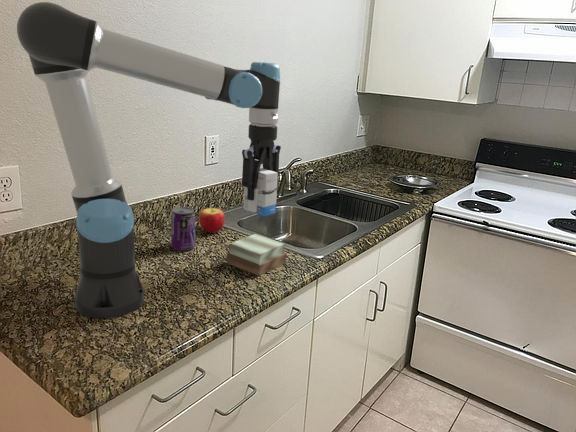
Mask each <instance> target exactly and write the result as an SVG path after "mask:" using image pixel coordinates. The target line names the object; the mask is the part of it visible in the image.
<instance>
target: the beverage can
mask: <svg viewBox="0 0 576 432" xmlns="http://www.w3.org/2000/svg"><path fill="white" fill-rule="evenodd" d="M194 211H195V210H194V208H192V207H189V206H178V207H174V208H173V209H172V213H171V215H170V240H171V241H170V243H171V244H170V245H171V246H170V247H171V248H172V249H175V250H177V251H179V252H180V251H181V252H182V251H183V252H184V251H189V250H192V249H194V248H195V246H196V214H195V212H194Z"/></svg>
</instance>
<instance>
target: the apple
mask: <svg viewBox="0 0 576 432" xmlns="http://www.w3.org/2000/svg"><path fill="white" fill-rule="evenodd" d="M225 218H226V217H225V213H224V212H223V210H222V209H220V208H216V207H215V208H214V207H213V205H212V201H211V200H210V207H208V208H203V209H202V210H201V211H200V212H199V215H198V221H199V224H200V226H201V228H202V230H203V231H205V232H206V233H210V234H214V233H217V232H219V231H221V229H223V227H224V224H225Z"/></svg>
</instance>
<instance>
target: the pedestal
mask: <svg viewBox="0 0 576 432" xmlns="http://www.w3.org/2000/svg"><path fill="white" fill-rule="evenodd" d="M286 261H287V253H286V252H285V243H284V242H281V241H277V240H274V239H271V238H268V237H266V236H263V235H260V234H257V233H254V234H251V235H249V236H246V237H244V238H240V239H237V240H235V241H232V242H230V243H229V252H227V253H226V264H228V265H231V266H233V267H236V268H239V269H240V270H243V271H245V272H248V273H250V274H253V275H256V276H258V277H259V276H260V277H261V276H262V275H265V274H266V273H268V272H270V271H272V270H274V269H277V268H278V267H280V266H282V265H284V263H285V264H286Z"/></svg>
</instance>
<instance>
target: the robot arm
mask: <svg viewBox="0 0 576 432" xmlns="http://www.w3.org/2000/svg"><path fill="white" fill-rule="evenodd" d="M16 33H17V38H18V40H19V43H20V45H21V47H23V50H24V51H26V53H27V55H28V56H29V57H28V58H29V61H30V63H31V67H32V70H33V73H34V75H35V77H36V78H38V79H40V80H41V81H43V83H45V87H46V90H47V94H48V96H49V100H50V103H51V107H52V109H53V113H54V117H55V120H56V124H57V127H58V131H59V134H60V138H61V140H62V143H63V147H64V150H65V153H66V154H65V155H66V156H67V160H68V163H69V167H70V170H71V173H72V176H73V180H74V184H75V186H74V187H73V189H72V190H71V193H70V194H71V197H72V201H73V204H74V208H75V211H76V218H75V225H76V229H77V237H78V239H77V241H78V251H79V252H78V253H79V265H80V277H79V280H78V284H77V288H76V291H75V293H74V307H75V310H76V311H77V312H78V313H79V314H80V315H83V316H85V317H88V318H91V319H93V318H94V319H111V318H119V317H122V316H125V315H129V314H131V313H133V312H135V311H136V310H138V309H140V308H141V306H143V305H144V302H145V290H144V287H143V284H142V282H141V279H140V276H139V275H138V273H137V270H136V257H135V232H134V231H135V229H134V228H135V227H134V226H135V215H134V213H133V209H132V207H131V206H130V205H129V204H128V202H127V200H126V197H125V192H124V188H123V184H122V181H121V180H118V179H117V178H116V177H114V175H113V172H112V169H111V166H110V164H111V163H110V162H109V157H108V153H107V149H106V146H105V142H104V138H103V134H102V131H101V128H100V127H101V126H100V124H99V120H98V116H97V112H96V109H95V105H94V102H93V97H92V93H91V90H90V86H89V81H88V79H87V76H88V73H90V71H91V70H94V69H95V68H96V69H100V70H103V71H108V72H112V73H116V74H119V75H122V76H126V77H130V78H133V79H138V80H142V81H144V82H145V81H146V82H148V83H153V84H156V85H160V86H163V87H167V88H171V89H174V90H178V91H182V92H185V93H190V94H193V95H197V96H200V97H204V98H205V99H207V100H214V101H218V102H222V103H226V104H228V105H229V104H230V105H234V106H235V107H237V108H240V109H248V122H249V123H250V124H249V125H248V138H249V140H250V145H249V148H247V149H242V151H241V155H242V174H241V175H242V177H241V186H242V187H243V188H244V187H247V189H248V192H247V194H248V195H247V199H248V210H249V211H248V210H247V211H248V212H250V211H252V212H251V213H253V212H257V203H258V189H257V188H256V185H257V180H258V175H259V171H260V168H261V165H262V168H263V169H267V170H270V171H274V172H278V175H279V169H280V152H281V148H282V146H281V145H279V144H278V145H277V144H275V140H277V138H278V126H277V124H278V118H279V102H280V101H279V100H280V87H281V68H280V65H279V64H277V63H274V62H262V61H261V62H260V61H259V62H258V61H257V62H256V61H253V62H252V63H250V67H249V69H236V68H232V67H228V66H224V65H222V64H219V63H215V62H212V61H209V60H205V59H204V58H199V57H197V56H193V55H189V54H187V53H183V52H181V51H180V52H179V51H177V50H173V49H170V48H167V47H163V46H160V45H158V44H154V43H151V42H147V41H145V40H144V41H143V40H141V39H137V38H134V37H131V36H128V35H124V34H121V33H117V32H115V31H111V30H108V29H105V28H103V27H102V26H101V24H100V23H99V21H96V20H93V19H90V18H88V17H85V16H82V15H79V14H77V13H75V12H73V11H71V10H69V9H67V8H65V7H63V6H62V5H59V4H57V3H54V2H48V1H47V2H45V1H41V2H35V3H33V4H31V5H29V6H27V7H26V8H25V9H24V10H23V11H22V12H21V13H20V15H19V17H18V20H17V23H16ZM277 181H279V177H278V178H277Z"/></svg>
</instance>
